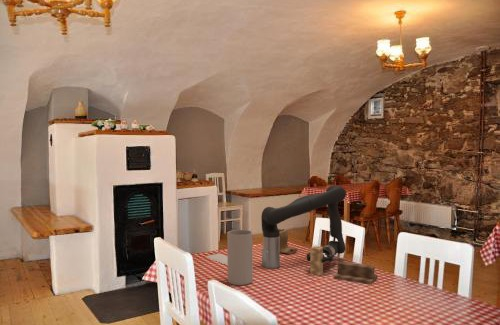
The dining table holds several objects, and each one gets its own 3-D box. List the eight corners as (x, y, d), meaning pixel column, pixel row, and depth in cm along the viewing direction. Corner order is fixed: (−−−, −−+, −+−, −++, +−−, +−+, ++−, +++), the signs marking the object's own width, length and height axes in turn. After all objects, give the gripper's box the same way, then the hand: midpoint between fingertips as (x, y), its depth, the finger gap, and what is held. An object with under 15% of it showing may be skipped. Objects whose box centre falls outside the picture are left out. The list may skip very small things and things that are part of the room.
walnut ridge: (333, 278, 229) (333, 265, 229) (341, 272, 239) (341, 259, 239) (371, 284, 219) (371, 270, 219) (377, 277, 230) (377, 264, 229)
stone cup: (267, 252, 284) (267, 228, 283) (280, 248, 292) (280, 226, 291) (286, 256, 273) (285, 232, 272) (298, 253, 281) (298, 229, 281)
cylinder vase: (256, 279, 228) (256, 231, 227) (246, 287, 217) (245, 235, 216) (234, 276, 233) (234, 229, 232) (223, 283, 222) (222, 233, 221)
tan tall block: (310, 274, 237) (310, 248, 236) (314, 271, 241) (314, 246, 240) (319, 275, 234) (319, 249, 234) (322, 273, 239) (322, 247, 238)
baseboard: (234, 270, 247) (251, 266, 254) (234, 265, 247) (251, 261, 254) (202, 259, 270) (218, 255, 278) (202, 254, 270) (218, 251, 278)
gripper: (314, 245, 253) (302, 251, 239) (338, 248, 246) (328, 254, 232) (314, 258, 253) (302, 265, 239) (338, 261, 246) (328, 269, 232)
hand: (315, 260), depth 236 cm, fingers open, 7 cm apart
